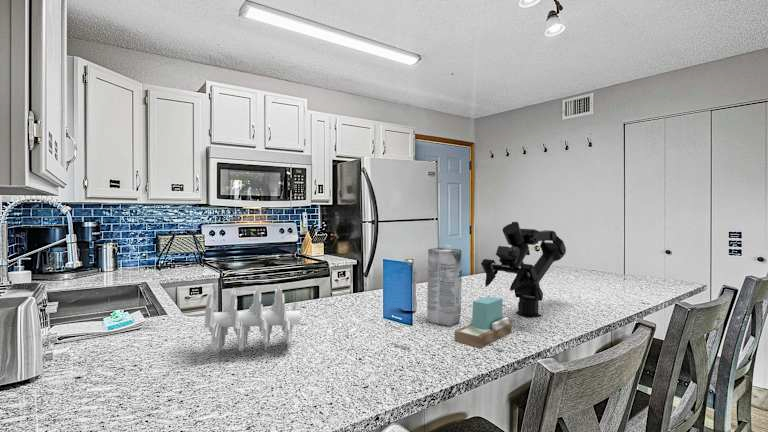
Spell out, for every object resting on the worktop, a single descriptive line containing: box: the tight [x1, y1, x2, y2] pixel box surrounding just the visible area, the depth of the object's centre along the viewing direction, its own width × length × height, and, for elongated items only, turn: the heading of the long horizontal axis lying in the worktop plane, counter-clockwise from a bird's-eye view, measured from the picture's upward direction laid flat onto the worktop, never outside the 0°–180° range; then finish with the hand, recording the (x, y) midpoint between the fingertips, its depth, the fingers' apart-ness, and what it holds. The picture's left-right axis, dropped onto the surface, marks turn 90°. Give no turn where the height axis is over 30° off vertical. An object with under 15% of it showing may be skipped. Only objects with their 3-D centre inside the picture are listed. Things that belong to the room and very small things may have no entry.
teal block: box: [471, 296, 504, 330], centre depth 126 cm, size 10×5×8 cm, turn 137°
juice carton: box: [426, 244, 463, 327], centre depth 138 cm, size 9×10×27 cm
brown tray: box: [454, 316, 513, 349], centre depth 124 cm, size 20×9×5 cm, turn 137°
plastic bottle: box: [404, 258, 419, 312], centre depth 152 cm, size 6×7×20 cm
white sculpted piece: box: [204, 284, 301, 356], centre depth 111 cm, size 18×18×25 cm
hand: (498, 287), depth 133 cm, fingers open, 9 cm apart
